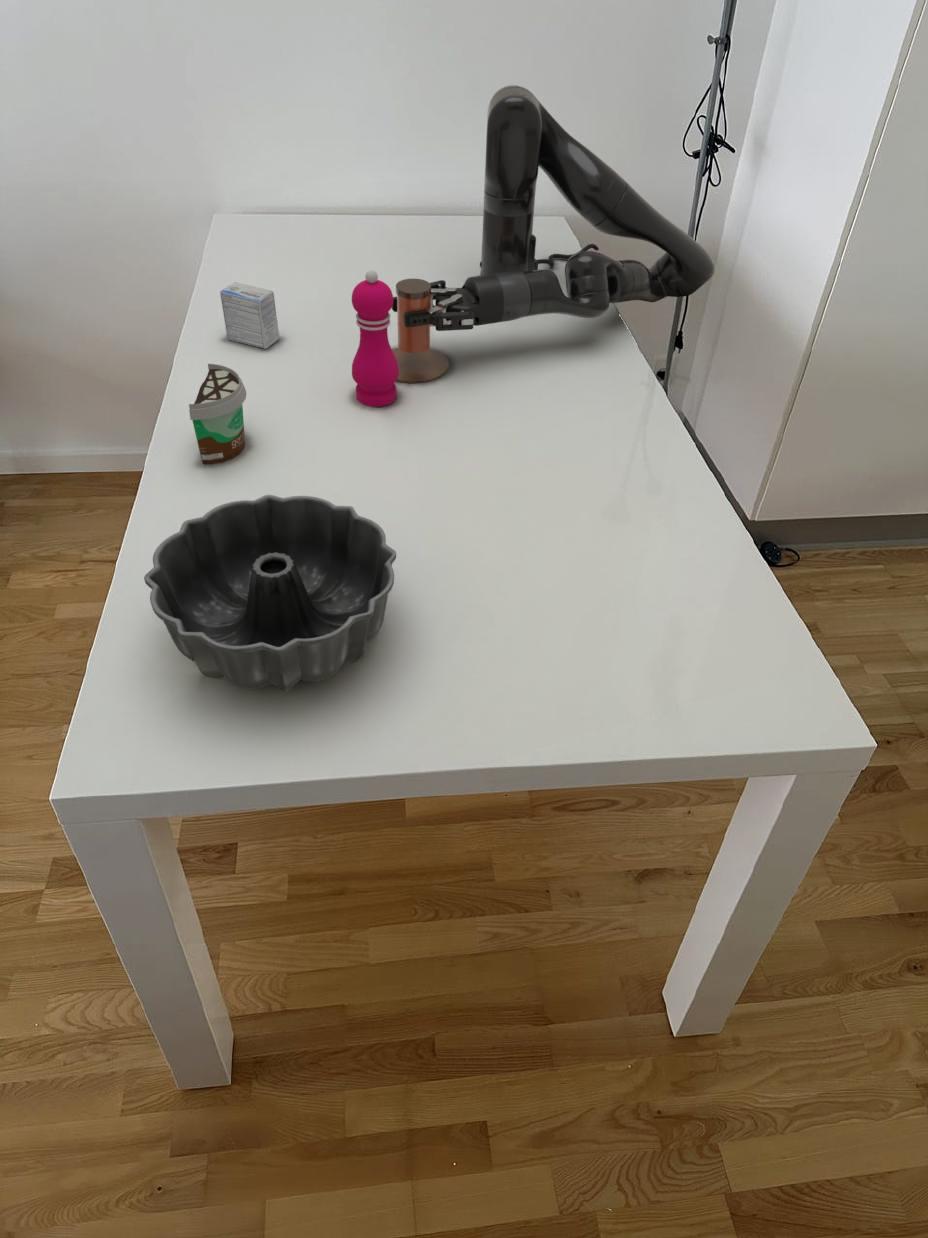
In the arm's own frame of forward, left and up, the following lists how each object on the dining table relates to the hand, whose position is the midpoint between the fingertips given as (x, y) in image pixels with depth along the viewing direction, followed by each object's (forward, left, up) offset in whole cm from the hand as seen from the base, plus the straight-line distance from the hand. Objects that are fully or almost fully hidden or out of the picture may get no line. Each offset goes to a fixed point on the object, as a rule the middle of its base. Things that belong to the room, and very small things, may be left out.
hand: (398, 312), depth 145 cm
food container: (+30, +15, -10) cm, 35 cm away
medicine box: (+20, -17, -10) cm, 28 cm away
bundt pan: (+32, +55, -10) cm, 64 cm away
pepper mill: (+6, +8, -10) cm, 14 cm away
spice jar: (-3, 0, -6) cm, 7 cm away
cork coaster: (-2, 0, -9) cm, 10 cm away
